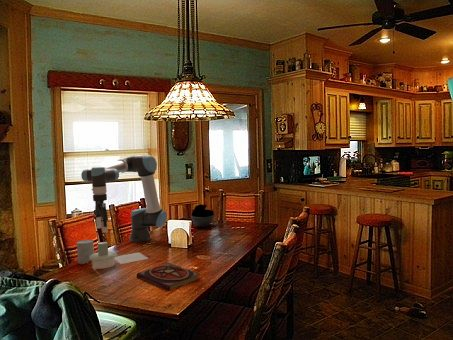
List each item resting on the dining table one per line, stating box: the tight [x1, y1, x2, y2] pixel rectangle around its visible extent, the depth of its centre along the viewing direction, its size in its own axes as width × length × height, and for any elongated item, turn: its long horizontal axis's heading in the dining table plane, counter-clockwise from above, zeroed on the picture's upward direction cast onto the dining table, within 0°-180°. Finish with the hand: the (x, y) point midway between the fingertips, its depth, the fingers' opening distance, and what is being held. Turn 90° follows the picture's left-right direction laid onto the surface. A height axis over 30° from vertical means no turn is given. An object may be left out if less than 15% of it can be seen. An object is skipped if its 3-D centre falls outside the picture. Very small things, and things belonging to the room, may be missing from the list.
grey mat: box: [115, 251, 149, 265], centre depth 227 cm, size 17×17×1 cm
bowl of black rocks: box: [190, 204, 216, 228], centre depth 313 cm, size 20×20×19 cm
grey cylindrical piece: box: [76, 239, 95, 265], centre depth 226 cm, size 10×10×12 cm
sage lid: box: [89, 241, 118, 261], centre depth 213 cm, size 15×15×8 cm
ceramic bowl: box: [91, 257, 116, 271], centre depth 214 cm, size 12×12×6 cm
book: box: [136, 262, 201, 292], centre depth 192 cm, size 28×21×5 cm
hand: (102, 230), depth 213 cm, fingers open, 13 cm apart
